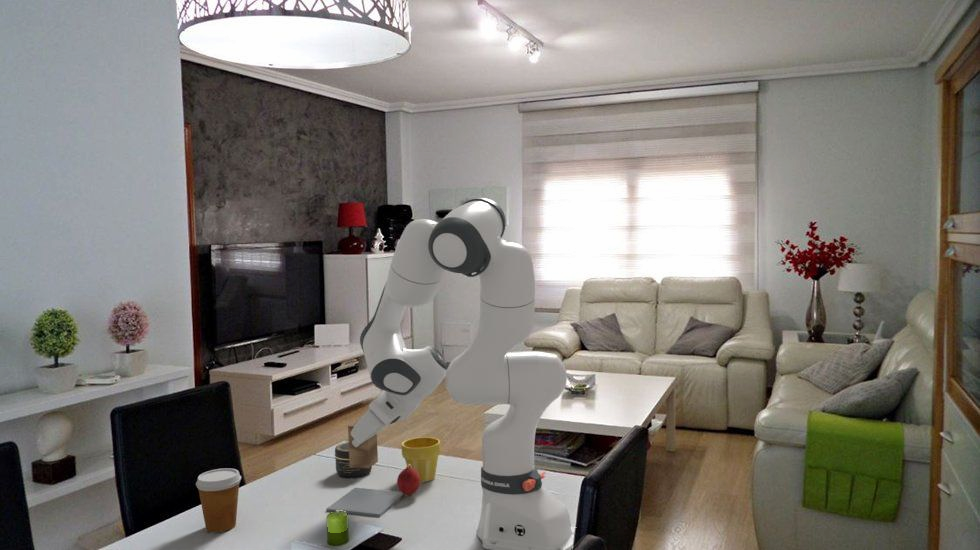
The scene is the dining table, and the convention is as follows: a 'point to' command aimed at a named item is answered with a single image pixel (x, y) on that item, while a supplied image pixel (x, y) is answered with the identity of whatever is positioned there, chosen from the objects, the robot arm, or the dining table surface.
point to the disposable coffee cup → (219, 498)
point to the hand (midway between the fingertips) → (361, 440)
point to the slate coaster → (366, 501)
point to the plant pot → (422, 455)
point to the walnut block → (362, 451)
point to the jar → (347, 463)
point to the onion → (408, 481)
